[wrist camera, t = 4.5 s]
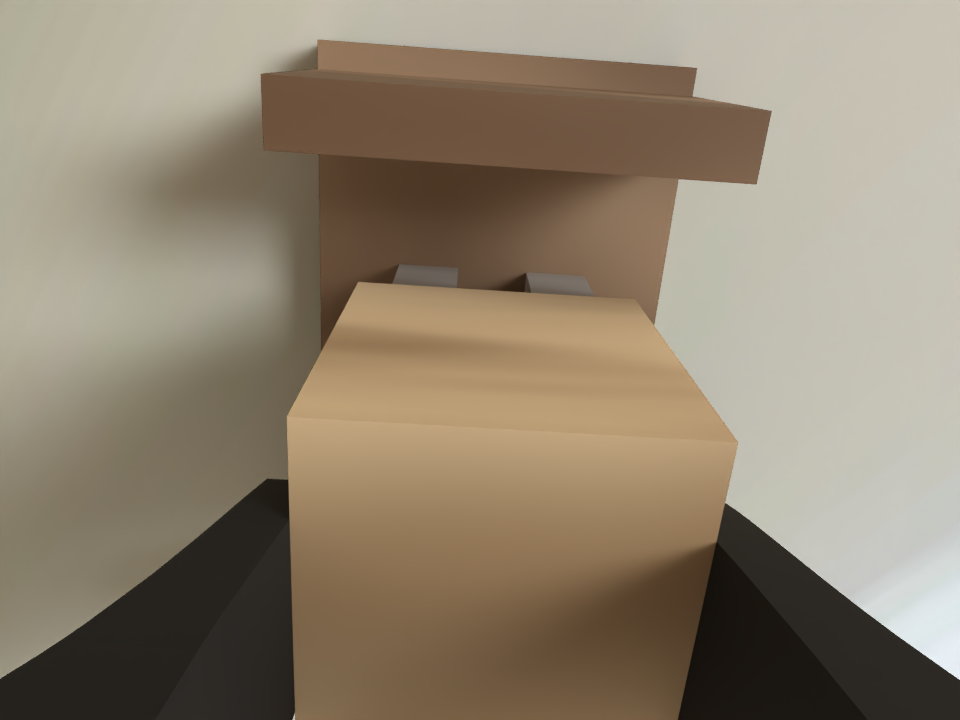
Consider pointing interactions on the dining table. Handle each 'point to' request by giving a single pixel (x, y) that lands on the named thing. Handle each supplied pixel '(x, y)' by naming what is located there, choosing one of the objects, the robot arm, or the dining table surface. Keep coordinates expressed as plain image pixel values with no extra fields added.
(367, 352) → the light wooden block
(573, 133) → the stand
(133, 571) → the dining table surface
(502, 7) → the dining table surface
